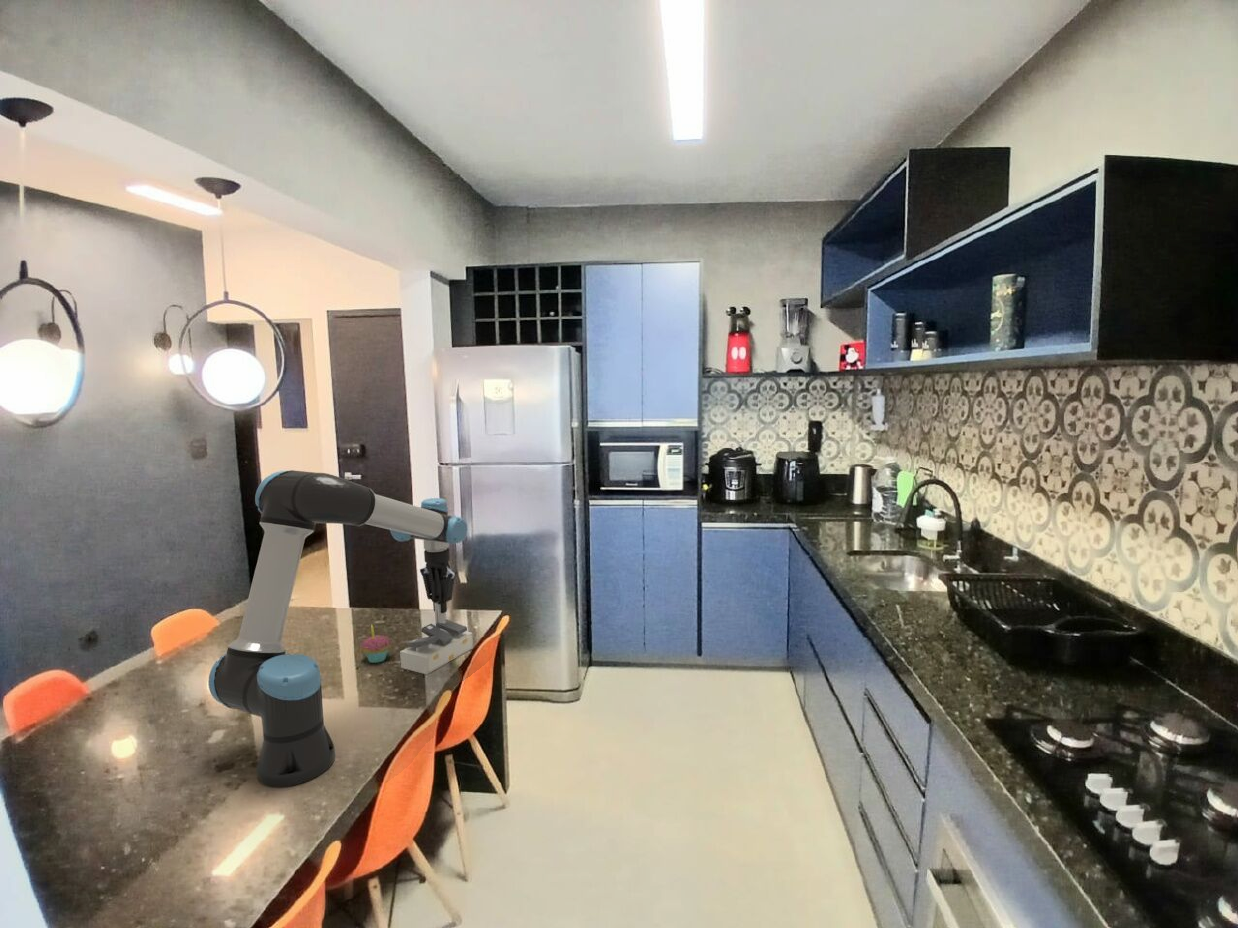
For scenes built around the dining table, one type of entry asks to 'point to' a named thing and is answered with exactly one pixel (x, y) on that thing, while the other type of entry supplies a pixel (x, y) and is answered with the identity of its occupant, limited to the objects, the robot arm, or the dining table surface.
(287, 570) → the robot arm
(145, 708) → the dining table surface
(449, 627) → the rocker
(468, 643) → the switch unit
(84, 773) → the dining table surface
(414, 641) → the rocker
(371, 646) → the cupcake
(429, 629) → the block
